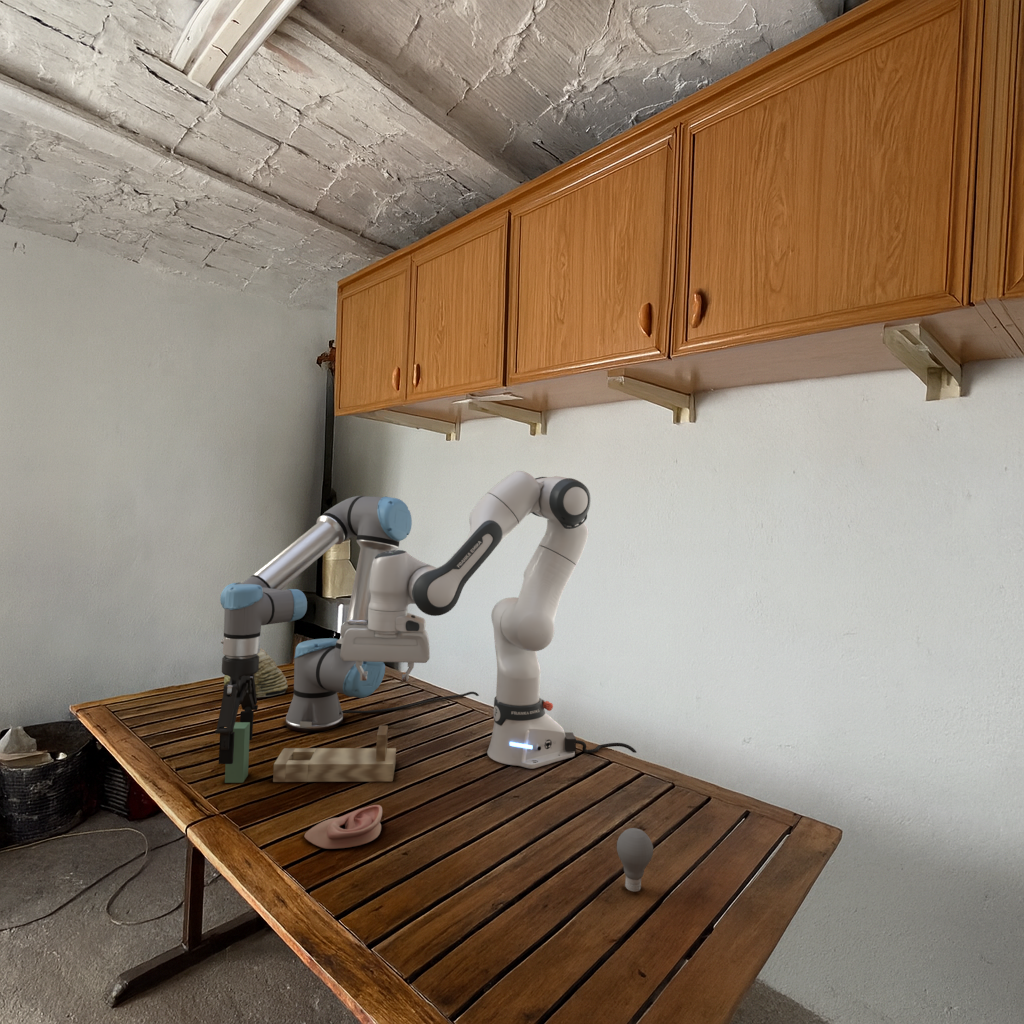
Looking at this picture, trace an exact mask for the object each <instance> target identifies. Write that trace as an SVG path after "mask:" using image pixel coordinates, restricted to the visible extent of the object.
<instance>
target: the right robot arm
mask: <svg viewBox="0 0 1024 1024" xmlns="http://www.w3.org/2000/svg"><path fill="white" fill-rule="evenodd" d="M590 507H591V494H590V490H589V488H588V487H587V485H585V484H584V483H583V482H581V481H580V480H577V479H576V478H572V477H565V476H557V475H556V476H538V477H536V478H535V477H534V476H533V475H531V474H530V473H528V472H526V471H524V470H516V471H513V472H511V473H509V474H508V475H507V476H505V477H504V478H502V479H501V480H500V481H498V482H497V483H496V484H495V485H494V486H493V487H491V488H490V489H489V490H488V491H487V492H486V493H485V494H484V495H483V496H482V497H481V498H480V499H479V500H478V501H477V503H476V504H475V506H474V507H473V509H472V510H471V512H470V513H469V526H470V527H469V533H468V536H467V538H466V539H465V541H463V542H462V544H461V545H460V546H458V548H457V549H456V551H454V553H453V554H451V556H450V557H449V558H448V559H447V560H446V562H444V563H443V564H442V565H440V566H438V567H436V566H434V565H431V564H428V563H425V562H424V561H422V560H419V559H418V558H415V557H414V556H412V555H410V554H409V553H408V552H407V551H406V550H403V549H397V550H392V551H386V552H382V553H380V554H378V555H377V556H376V557H375V558H374V560H373V563H372V568H371V575H370V593H371V600H370V603H369V608H368V620H348V621H347V620H346V621H344V622H343V623H342V624H341V625H340V636H341V637H342V638H343V640H342V645H341V652H340V657H341V659H342V660H343V661H356V667H357V669H358V671H359V673H360V681H367V672H368V671H364V670H363V668H362V664H363V661H366V662H384V663H407V670H406V671H403V672H402V674H401V682H409V677H410V674H411V672H412V671H413V669H414V667H415V664H417V663H418V664H426V663H428V662H429V660H430V657H431V655H430V654H431V652H430V650H431V649H430V647H431V646H430V637H429V634H428V631H427V630H426V627H427V622H426V619H425V618H424V617H421V616H419V615H415V614H413V613H410V612H408V607H409V605H416V607H417V608H418V609H419V610H420V611H421V612H422V613H424V614H425V615H428V616H432V617H439V616H442V615H445V614H447V613H449V612H450V611H452V610H453V609H454V608H455V606H456V605H457V603H458V601H459V599H460V597H461V594H462V591H463V590H464V587H465V585H466V583H467V582H468V581H470V578H471V577H472V576H473V575H474V574H475V573H476V571H478V569H479V568H480V567H481V566H482V565H483V563H484V562H485V561H486V560H487V559H488V557H490V555H491V554H492V553H493V552H494V551H495V549H496V548H497V547H498V546H499V545H500V544H501V543H502V542H503V540H505V539H506V538H507V537H508V536H509V535H510V534H511V533H512V532H513V531H514V530H515V529H516V528H517V527H518V526H519V525H521V523H522V522H523V521H524V519H526V517H527V516H529V515H530V514H532V515H535V517H536V516H537V517H540V518H543V519H546V529H545V532H544V535H543V537H542V538H541V540H540V542H539V544H538V545H537V547H536V549H535V551H534V553H533V555H532V556H531V558H530V560H529V562H528V564H527V565H526V567H525V569H524V572H523V580H522V585H521V588H520V592H519V595H518V597H517V596H515V597H514V596H511V597H505V598H502V599H500V600H499V601H497V602H496V604H495V605H494V606H493V607H492V610H491V615H490V616H491V623H492V627H493V639H494V650H495V659H496V687H495V688H496V691H495V697H494V700H493V713H492V714H493V727H492V732H491V737H490V742H489V744H488V745H489V746H488V748H487V751H486V754H487V756H488V757H489V758H490V759H491V760H492V761H494V762H496V763H499V764H504V765H508V766H509V765H510V766H515V767H516V766H518V767H522V768H526V769H530V770H531V769H537V768H540V767H541V768H542V767H544V766H547V765H550V764H554V763H556V762H560V761H563V760H567V759H570V758H573V757H575V756H576V753H575V752H576V751H577V745H581V746H582V752H583V753H585V754H593V753H597V752H599V751H600V749H605V748H613V747H621V748H626V749H628V750H629V751H630V752H632V753H633V754H634V753H635V754H636V753H637V750H636V749H635V748H634V747H632V746H631V745H630V744H627V743H623V742H609V743H603V744H602V743H601V744H598V745H596V747H595V748H591V749H587V744H586V742H584V741H583V740H581V739H577V738H576V736H575V734H574V732H572V731H571V732H567V731H566V732H565V730H564V728H563V727H562V726H561V724H560V723H558V722H557V721H556V720H555V719H554V718H553V717H551V716H550V715H549V714H548V713H546V710H547V711H548V712H551V711H552V710H553V709H554V704H553V703H552V702H550V701H548V700H546V701H545V700H544V699H542V698H541V697H540V696H541V672H542V670H541V665H540V662H539V657H538V652H540V651H542V650H544V649H546V648H547V647H548V646H549V645H550V644H551V643H552V641H553V639H554V636H555V620H556V615H557V612H558V608H559V604H560V601H561V598H562V596H563V593H564V590H565V589H566V586H567V584H568V582H569V581H570V579H571V577H572V575H573V573H574V571H575V569H576V567H577V565H578V564H579V561H580V559H581V557H582V555H583V552H584V550H585V547H586V544H587V541H588V537H589V528H588V526H587V525H586V523H585V522H586V521H587V519H588V512H589V510H590ZM346 623H348V624H346ZM367 625H368V627H367ZM341 637H340V638H341Z"/></svg>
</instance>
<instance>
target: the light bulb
mask: <svg viewBox="0 0 1024 1024" xmlns="http://www.w3.org/2000/svg"><path fill="white" fill-rule="evenodd" d="M616 852H617V856H618V858H619V860H620V862H621V864H622V866H623V872H624V875H625V882H624V887H625V889H627V890H628V891H630V892H633V893H634V892H635V893H636V892H639V891H641V889H642V878H643V876H644V875H645V869H646V868H647V867H648V865H649V864H650V862H651V860H652V858H653V855H654V845H653V842H652V840H651V838H650V836H649V835H648V834H647V832H645V831H644V830H642V829H640V828H636V827H629V828H627V829H625V830H624V831H623V832H622V833H620V835H619V836H618V839H617V841H616Z"/></svg>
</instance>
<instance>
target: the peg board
mask: <svg viewBox="0 0 1024 1024" xmlns="http://www.w3.org/2000/svg"><path fill="white" fill-rule="evenodd" d="M376 733H377V734H376V746H375V747H333V748H332V747H284V748H283V749H282V750H281V752H280V754H279V755H278V757H277V758H276V760H275V762H274V763H273V773H272V776H273V777H272V782H273V783H307V782H308V783H315V782H316V783H317V782H318V783H336V782H338V783H339V782H340V783H341V782H342V783H343V782H344V783H345V782H347V783H349V782H350V783H351V782H353V783H355V782H363V783H364V782H367V783H369V782H394V781H393V780H394V775H395V769H396V760H397V759H396V758H397V748H396V747H392V748H391V747H389V748H388V740H389V739H388V737H389V725H379V726H378V730H377V732H376Z"/></svg>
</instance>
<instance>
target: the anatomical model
mask: <svg viewBox="0 0 1024 1024" xmlns="http://www.w3.org/2000/svg"><path fill="white" fill-rule="evenodd" d="M382 817H383V807H382V805H380V804H372V805H369V806H365V807H362V808H358V809H356V810H353V811H351V812H348V813H346V814H344V815H341V816H339V817H332V818H328V819H326V820H323V821H321V822H319V823H317V824H316V825H314V826H312V827H311V828H309V829H308V830H307V831H306V832H305V834H304V836H303V837H304V838H305V840H306V841H308V842H309V843H311V844H312V845H314V846H317V847H318V848H321V849H325V850H335V849H337V850H338V849H345V848H352V847H358V846H362V845H365V844H368V843H370V842H372V841H374V840H376V839H377V838H378V837H379V836H380V834H381V831H382V824H381V820H382Z"/></svg>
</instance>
